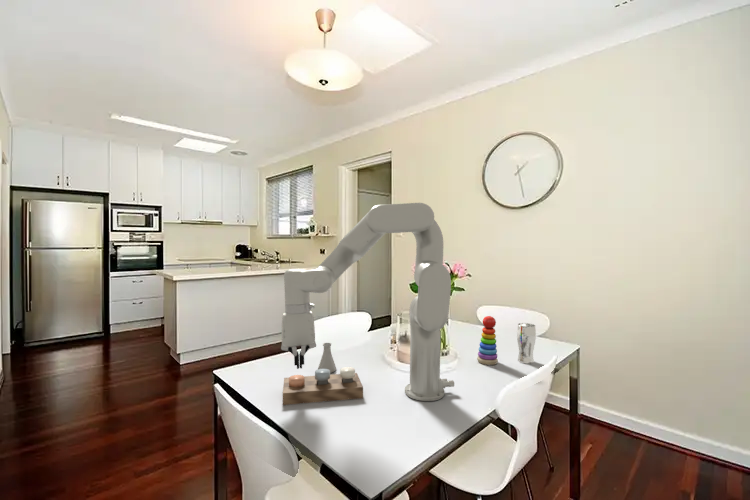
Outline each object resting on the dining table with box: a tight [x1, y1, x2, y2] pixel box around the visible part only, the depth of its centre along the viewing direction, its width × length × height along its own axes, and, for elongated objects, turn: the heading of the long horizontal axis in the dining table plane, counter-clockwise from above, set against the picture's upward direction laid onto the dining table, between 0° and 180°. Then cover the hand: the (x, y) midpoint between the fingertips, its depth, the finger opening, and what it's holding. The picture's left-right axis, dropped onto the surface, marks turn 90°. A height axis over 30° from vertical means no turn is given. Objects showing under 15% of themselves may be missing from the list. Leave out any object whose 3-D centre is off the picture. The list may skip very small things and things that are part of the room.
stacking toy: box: [476, 315, 499, 366], centre depth 145 cm, size 8×8×19 cm
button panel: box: [282, 372, 364, 406], centre depth 114 cm, size 24×12×4 cm, turn 102°
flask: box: [317, 342, 337, 374], centre depth 134 cm, size 7×7×10 cm
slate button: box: [314, 368, 331, 385], centre depth 114 cm, size 5×5×6 cm
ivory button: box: [339, 366, 356, 383], centre depth 116 cm, size 5×5×6 cm
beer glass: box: [516, 322, 537, 365], centre depth 146 cm, size 7×7×15 cm
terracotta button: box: [288, 374, 305, 387], centre depth 113 cm, size 5×5×6 cm
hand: (299, 367), depth 112 cm, fingers closed
